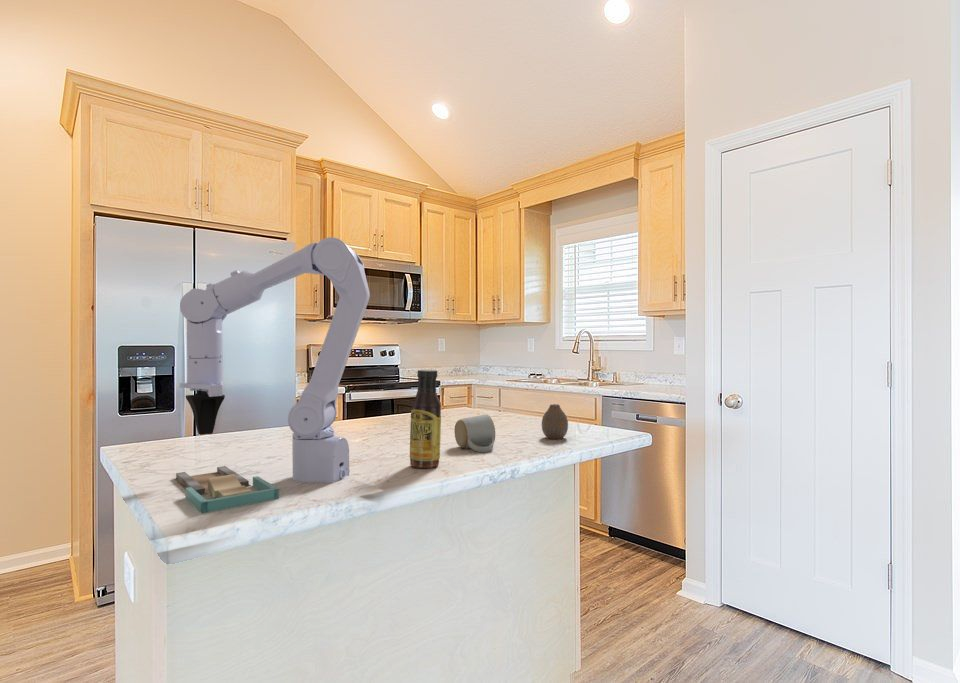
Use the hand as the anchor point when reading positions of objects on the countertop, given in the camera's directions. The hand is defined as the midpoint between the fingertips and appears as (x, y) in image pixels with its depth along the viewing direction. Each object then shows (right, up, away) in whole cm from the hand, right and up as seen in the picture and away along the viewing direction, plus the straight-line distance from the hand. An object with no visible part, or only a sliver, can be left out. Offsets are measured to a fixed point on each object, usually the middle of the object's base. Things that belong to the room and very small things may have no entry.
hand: (205, 433), depth 97 cm
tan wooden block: (+11, -9, -13) cm, 19 cm away
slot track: (+2, -9, -3) cm, 10 cm away
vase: (+69, -9, +45) cm, 83 cm away
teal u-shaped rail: (+10, -10, -12) cm, 19 cm away
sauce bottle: (+38, -9, +15) cm, 42 cm away
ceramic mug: (+49, -9, +33) cm, 59 cm away
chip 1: (+8, -8, -10) cm, 15 cm away
